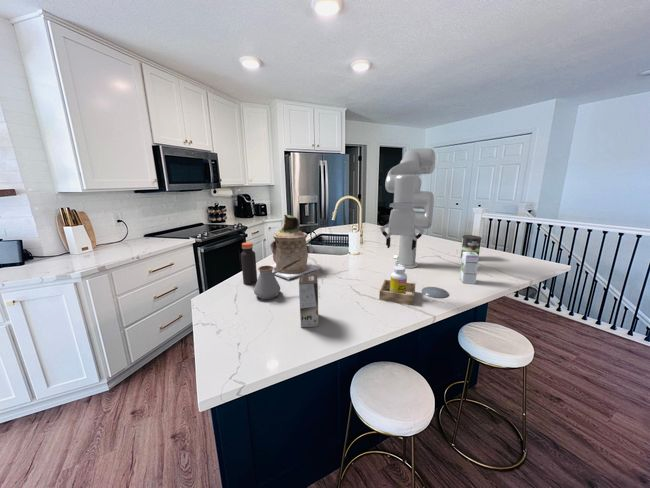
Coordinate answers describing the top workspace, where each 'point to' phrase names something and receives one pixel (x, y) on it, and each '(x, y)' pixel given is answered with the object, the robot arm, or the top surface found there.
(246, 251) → the vinegar
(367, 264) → the top surface
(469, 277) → the syrup box
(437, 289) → the trivet
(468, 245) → the coffee can
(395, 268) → the supplement bottle
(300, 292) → the coffee box
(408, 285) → the wooden box
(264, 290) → the coffee pot
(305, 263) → the cookie jar
